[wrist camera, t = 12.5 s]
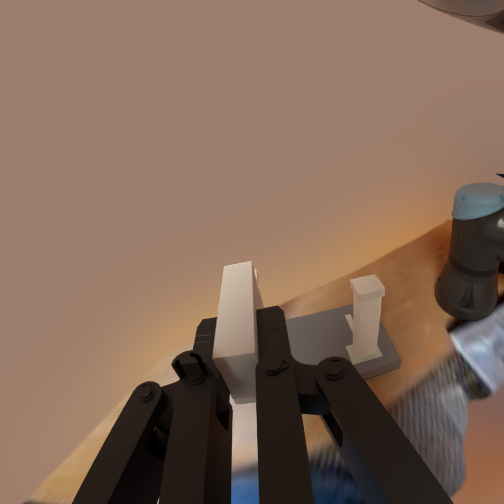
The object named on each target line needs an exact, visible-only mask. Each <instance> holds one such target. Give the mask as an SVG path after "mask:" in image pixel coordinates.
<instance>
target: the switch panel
mask: <svg viewBox="0 0 504 504" xmlns="http://www.w3.org/2000/svg"><path fill="white" fill-rule="evenodd" d="M285 321H286V326H287V331H288V337H289V342H290V348H291V354H292V356H293V357H294V359H295V360H297V361H298V362H300V363H303V364H308V365H318V364H319V362H321V361H322V360H324V359H325V358H329V357H332V356H338V357H343V358H346V359H347V360H349V361H350V362H351V363H352V364H353V366H354V367H355V368H356V370H357V371H358V372H359V374H360V375H361V376H362V378H363V379H367V378H370V377H373V376H377V375H380V374H383V373H386V372H389V371H392V370H395V369H398V368H399V366H400V362H401V359H400V357H399V356H398V354H397V352H396V350H395V348H394V346H393V344H392V342H391V341H390V339H389V337H388V335H387V333H386V332H385V330H384V328H383V326H382V324H381V323H379V333H378V341H377V349H376V354H373V355H369V356H366V357H362V358H359V359H358V358H357V355H356V353H355V350H354V348H353V305H349V306H345V307H341V308H337V309H332V310H328V311H324V312H319V313H315V314H310V315H306V316H301V317H296V318H291V319H286V320H285ZM234 401H235V403H236V404H243V403H251V402H256V397H249V398H241V399H234Z"/></svg>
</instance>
